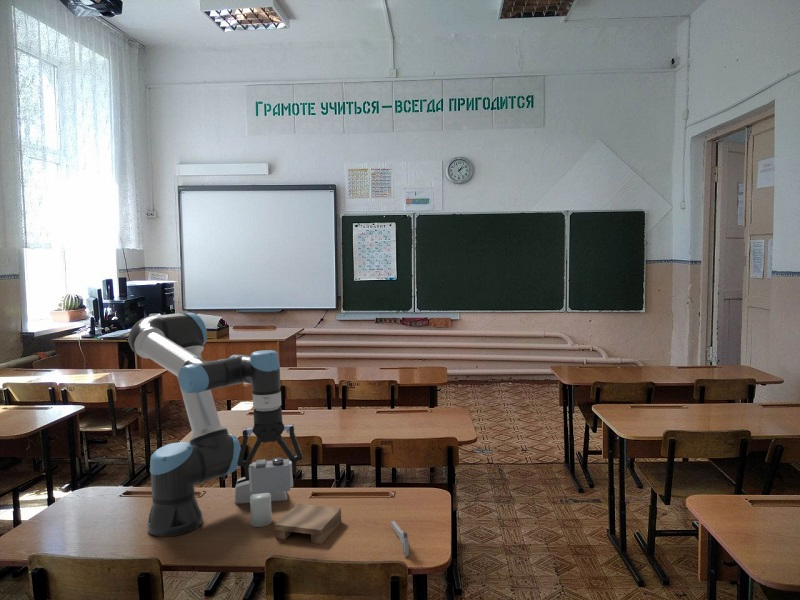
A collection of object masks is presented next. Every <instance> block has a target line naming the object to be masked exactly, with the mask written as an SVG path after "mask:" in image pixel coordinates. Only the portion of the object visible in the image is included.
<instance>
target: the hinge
mask: <svg viewBox="0 0 800 600" xmlns="http://www.w3.org/2000/svg"><path fill="white" fill-rule="evenodd" d="M234 487H235V488H234V490H235V492H234V505H235V504H248V503H249V504H250V496H251V495H252V491H250V483H249V479H246V478H245V476H243V477H241V478H238V479H237V480H236V483H235V486H234ZM270 494H271V502H279V501H280V502H282V501H287V500H288V495H289V493H288V491H281V492H271V493H270Z"/></svg>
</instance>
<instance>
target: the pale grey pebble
mask: <svg viewBox="0 0 800 600" xmlns="http://www.w3.org/2000/svg"><path fill="white" fill-rule="evenodd" d="M249 506H250V507H249V508H250V525H251V526H253V527H256V528H263V527H267V526H269V525H270V524H271V523H273V518H272V516H273V515H272V501H271V494H270V493H262V494H252V495H251V496H250V503H249Z"/></svg>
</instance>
